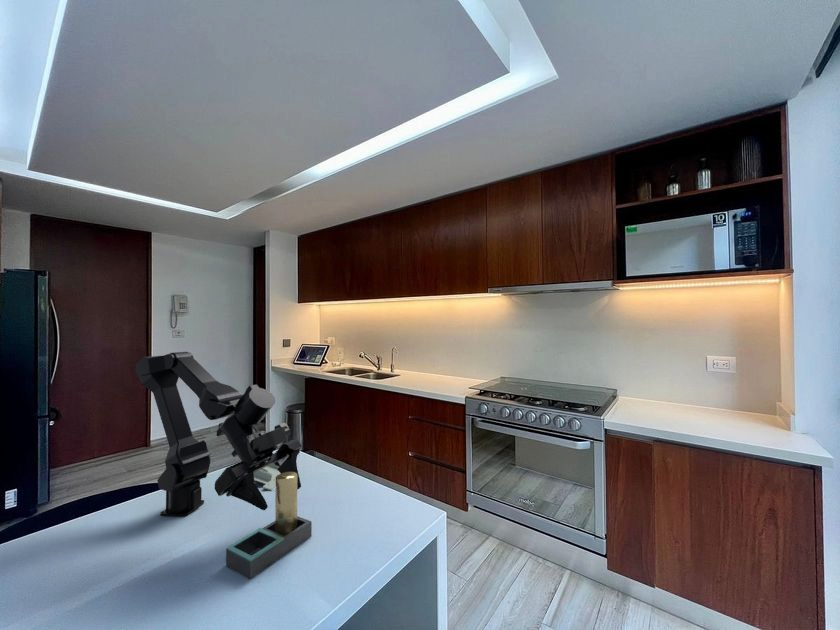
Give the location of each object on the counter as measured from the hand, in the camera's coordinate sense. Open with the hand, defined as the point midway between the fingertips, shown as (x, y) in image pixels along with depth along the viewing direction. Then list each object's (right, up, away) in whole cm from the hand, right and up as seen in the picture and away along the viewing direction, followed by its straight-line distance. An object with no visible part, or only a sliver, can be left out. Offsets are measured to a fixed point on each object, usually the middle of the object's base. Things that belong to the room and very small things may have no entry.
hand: (283, 497), depth 71 cm
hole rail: (-1, -8, -4) cm, 9 cm away
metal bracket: (-17, -10, +29) cm, 35 cm away
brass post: (+1, -8, -1) cm, 8 cm away
